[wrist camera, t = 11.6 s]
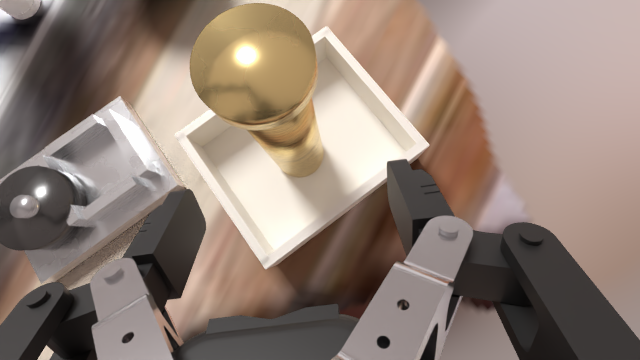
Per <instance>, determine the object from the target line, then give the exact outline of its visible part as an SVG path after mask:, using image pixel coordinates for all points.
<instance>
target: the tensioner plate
mask: <svg viewBox="0 0 640 360" xmlns="http://www.w3.org/2000/svg"><path fill="white" fill-rule="evenodd" d="M184 188H185V186H184V185H183V183H182V182H181V180H180V179H179V177H178V175H177V174H176V172H175V171H174V169H173V168H172V166H171V165H170V163H169V162H168V160H167V159H166V157H165V156H164V154H163V153H162V151H161V150H160V148H159V147H158V145H157V144H156V142H155V141H154V139H153V138H152V136H151V135H150V133H149V132H148V130H147V129H146V127H145V125H144V124H143V122H142V121H141V119H140V118H139V116H138V115H137V113H136V112H135V110H134V109H133V107H132V106H131V104H130V103H129V102H128V101H126V100H125V99H123V98H122V97H120V96H119V97H118V98H116V99H115V100H113V101H112V102H111V103H109V104H108V105H106V106H105V107H103V108H102V109H101V110H99V111H98V112H96V113H95V114H92V115H91V116H89V117H88V118H86V119H85V120H83V121H82V122H81V123H79V124H78V125H76V126H75V127H73V128H72V129H71V130H69V131H68V132H66V133H65V134H63V135H62V136H61V137H59V138H58V139H56V140H55V141H53V142H52V143H50V144H49V145H48V146H46V147H45V149H43V150H42V151H41V152H39V153H38V154H36V155H35V156H33V157H32V158H30V159H29V160H28V161H26V162H25V163H23V164H22V165H20V166H19V167H18V168H16V169H15V170H13V171H12V172H10V173H9V174H8V175H6V176H5V177H3V178H2V179H0V243H1V244H3V245H4V246H6V247H8V248H10V249H14V250H24V251H25V253H26V255H27V257H28V259H29V261H30V263H31V265H32V267H33V269H34V271H35V273H36V274H37V276H38V278H39V280H40V282H41V284H42V283H49V282H56V281H57V280H58V279H60V278H61V277H63V276H64V275H65V274H67V273H68V272H70V271H71V270H72V269H74V268H75V267H76V266H78V265H79V264H81V263H82V262H83V261H85V260H86V259H87V258H89V257H90V256H92V255H93V254H94V253H96V252H97V251H98V250H100V249H101V248H103V247H104V246H105V245H107V244H108V243H109V242H111V241H112V240H114V239H115V238H116V237H118V236H119V235H120V234H122V233H123V232H125V231H126V230H127V229H129V228H130V227H131V226H133V225H134V224H136V223H137V222H138V221H140V220H141V219H142V218H144V217H145V216H147V215H148V214H149V213H151V212H152V211H153V210H155V209H156V208H157V207H158V206H159V205H162V204H163V202H164V200H165V199H166V197H167V195H168V194H169V193H170V192H172V191H179V190H182V189H184Z"/></svg>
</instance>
